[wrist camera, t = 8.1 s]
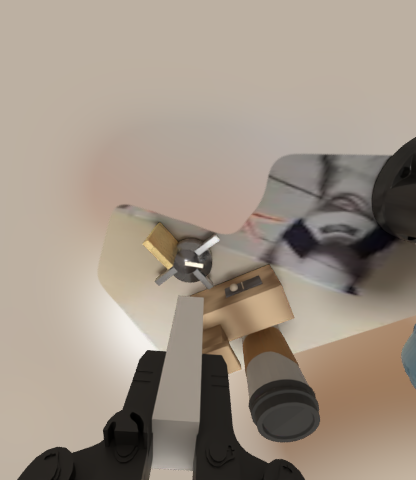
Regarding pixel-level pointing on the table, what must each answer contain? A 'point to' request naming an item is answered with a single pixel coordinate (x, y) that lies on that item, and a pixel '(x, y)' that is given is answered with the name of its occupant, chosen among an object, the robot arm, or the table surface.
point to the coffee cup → (278, 388)
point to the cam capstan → (181, 256)
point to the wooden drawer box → (241, 311)
